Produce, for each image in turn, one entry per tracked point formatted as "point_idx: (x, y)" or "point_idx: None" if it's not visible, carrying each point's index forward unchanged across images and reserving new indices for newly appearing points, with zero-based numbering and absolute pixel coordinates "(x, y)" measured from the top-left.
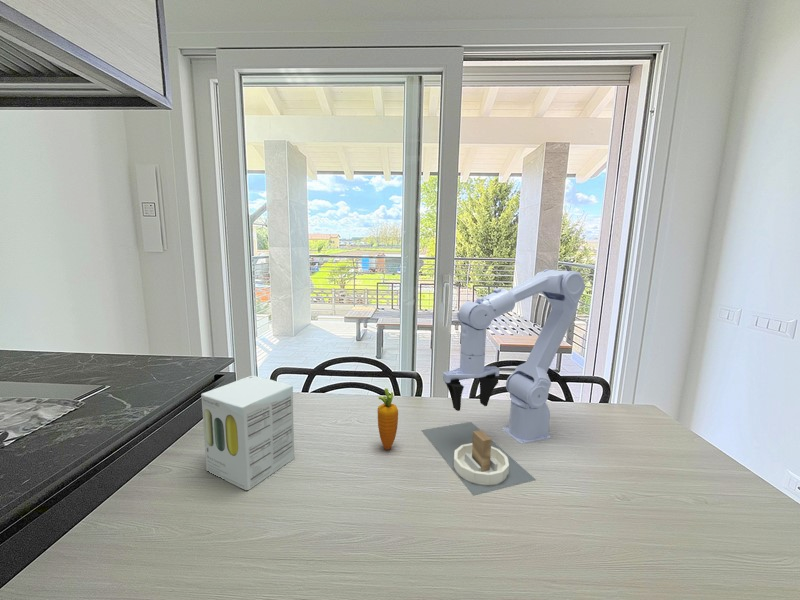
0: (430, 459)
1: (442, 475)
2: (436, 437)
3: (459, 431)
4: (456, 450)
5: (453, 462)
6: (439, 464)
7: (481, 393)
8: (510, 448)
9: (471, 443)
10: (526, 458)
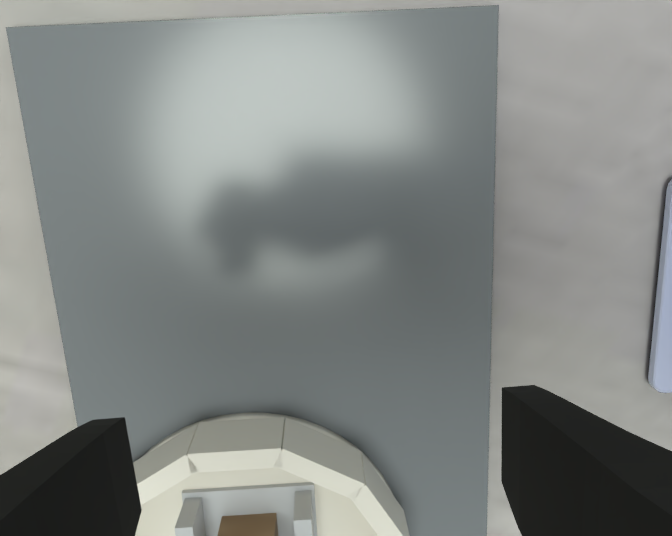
0: (3, 384)
1: None
2: (105, 175)
3: (323, 135)
4: None
5: None
6: (45, 440)
7: (564, 476)
8: None
9: (265, 453)
10: None
